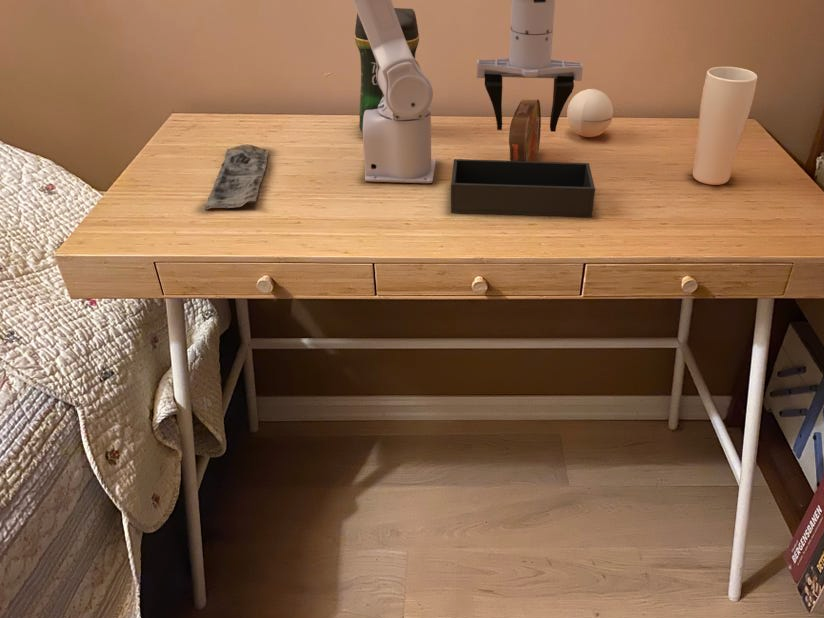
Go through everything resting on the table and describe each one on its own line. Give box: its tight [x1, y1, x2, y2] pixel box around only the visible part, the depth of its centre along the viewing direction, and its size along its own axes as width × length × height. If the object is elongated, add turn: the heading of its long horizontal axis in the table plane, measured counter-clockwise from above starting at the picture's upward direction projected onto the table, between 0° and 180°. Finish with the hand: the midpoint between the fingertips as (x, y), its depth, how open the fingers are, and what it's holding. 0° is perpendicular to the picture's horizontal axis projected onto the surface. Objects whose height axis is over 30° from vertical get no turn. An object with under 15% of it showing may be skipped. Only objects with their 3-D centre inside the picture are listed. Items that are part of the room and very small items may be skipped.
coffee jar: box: [354, 7, 420, 134], centre depth 121 cm, size 10×8×19 cm
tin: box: [508, 98, 542, 161], centre depth 115 cm, size 15×3×8 cm, turn 168°
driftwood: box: [204, 144, 270, 211], centre depth 110 cm, size 21×7×2 cm, turn 6°
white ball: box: [566, 88, 626, 138], centre depth 126 cm, size 10×7×7 cm
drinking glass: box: [691, 66, 758, 186], centre depth 110 cm, size 7×7×15 cm
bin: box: [450, 158, 596, 218], centre depth 106 cm, size 18×8×4 cm, turn 89°
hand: (526, 128), depth 114 cm, fingers open, 7 cm apart
